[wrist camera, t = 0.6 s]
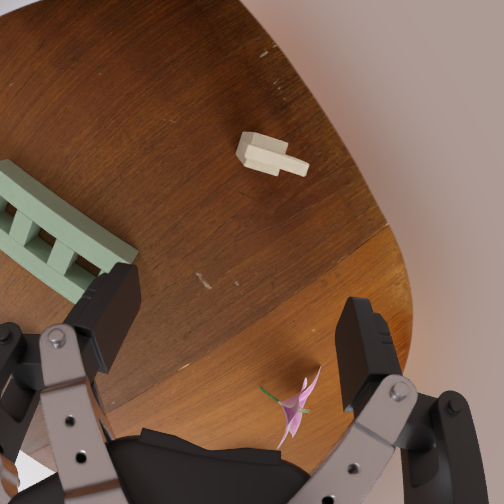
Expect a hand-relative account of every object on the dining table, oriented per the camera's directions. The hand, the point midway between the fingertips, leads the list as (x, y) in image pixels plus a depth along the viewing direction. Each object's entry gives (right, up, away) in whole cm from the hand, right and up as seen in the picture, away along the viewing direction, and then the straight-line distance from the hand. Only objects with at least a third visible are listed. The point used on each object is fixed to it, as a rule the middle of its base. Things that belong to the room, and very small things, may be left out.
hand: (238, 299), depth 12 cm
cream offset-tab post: (0, +12, +18) cm, 21 cm away
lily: (+6, -17, +31) cm, 36 cm away
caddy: (-22, +4, +18) cm, 29 cm away
